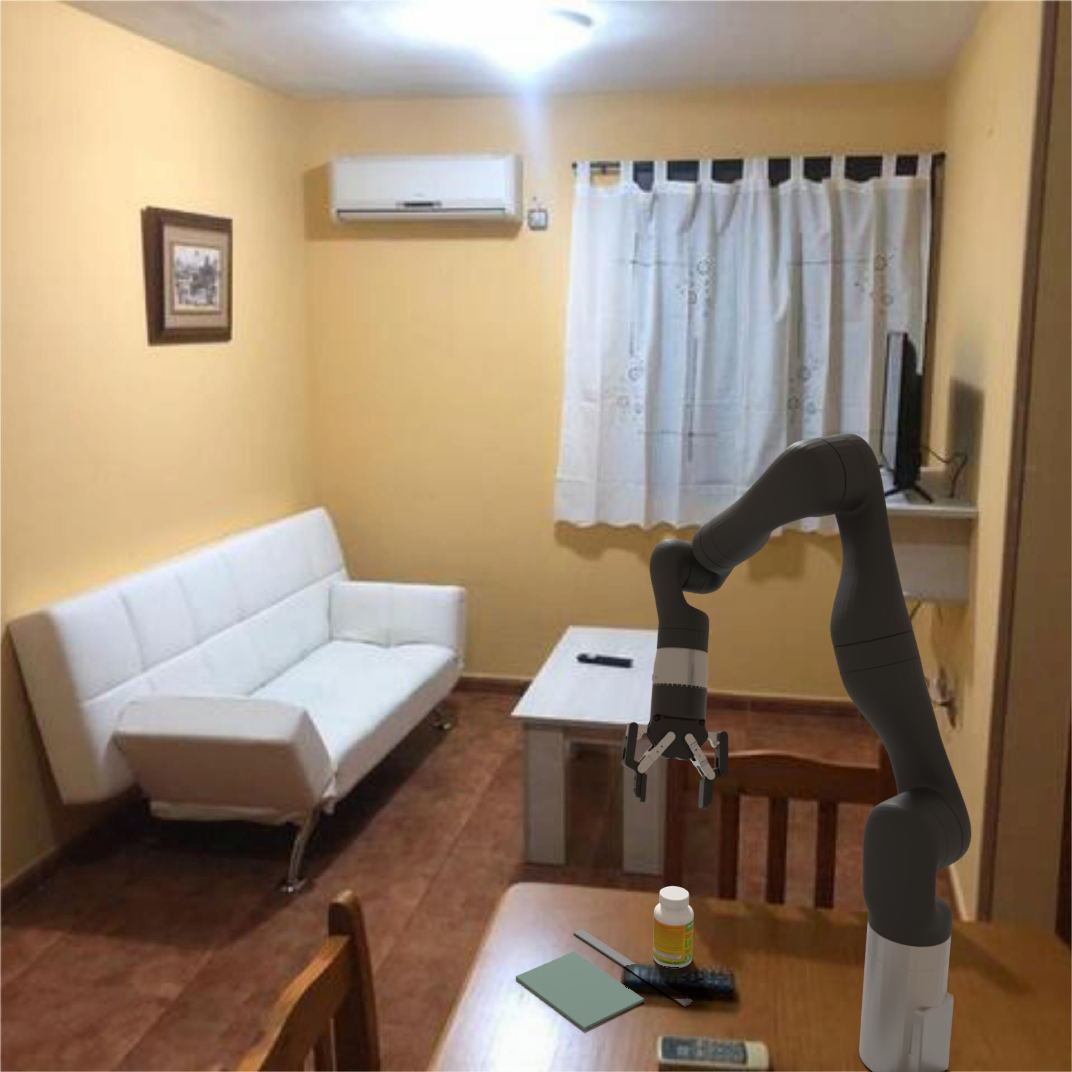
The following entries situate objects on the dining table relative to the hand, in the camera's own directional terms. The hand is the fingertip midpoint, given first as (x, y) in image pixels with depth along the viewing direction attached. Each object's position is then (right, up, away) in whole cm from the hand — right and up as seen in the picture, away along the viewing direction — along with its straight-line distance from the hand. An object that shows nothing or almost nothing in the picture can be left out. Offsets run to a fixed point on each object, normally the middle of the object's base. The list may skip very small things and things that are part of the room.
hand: (672, 805), depth 156 cm
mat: (-13, -23, -5) cm, 27 cm away
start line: (-6, -22, +1) cm, 23 cm away
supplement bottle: (0, -22, +3) cm, 22 cm away
